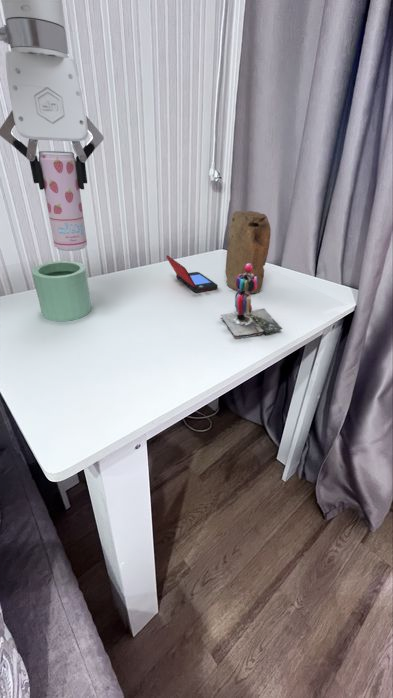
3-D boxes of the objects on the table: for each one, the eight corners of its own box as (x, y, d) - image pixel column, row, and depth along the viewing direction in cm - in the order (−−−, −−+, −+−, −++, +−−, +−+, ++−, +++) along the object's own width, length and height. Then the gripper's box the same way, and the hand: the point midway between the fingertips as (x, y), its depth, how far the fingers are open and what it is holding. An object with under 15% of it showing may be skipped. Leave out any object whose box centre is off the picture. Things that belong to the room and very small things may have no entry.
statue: (235, 343, 70) (234, 277, 61) (220, 322, 77) (218, 260, 69) (282, 333, 72) (288, 267, 63) (263, 313, 79) (267, 252, 71)
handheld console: (219, 289, 91) (221, 263, 87) (183, 295, 87) (184, 268, 83) (198, 274, 101) (199, 250, 97) (165, 279, 96) (165, 254, 92)
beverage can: (61, 253, 57) (43, 152, 49) (50, 245, 61) (32, 150, 53) (92, 248, 60) (80, 153, 52) (80, 241, 64) (67, 151, 56)
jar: (43, 324, 71) (32, 280, 66) (41, 304, 79) (31, 263, 74) (94, 317, 75) (88, 274, 70) (87, 298, 83) (81, 259, 78)
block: (221, 283, 95) (228, 209, 85) (242, 279, 99) (251, 208, 88) (244, 297, 88) (254, 218, 77) (266, 292, 91) (278, 216, 80)
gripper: (-38, 28, 40) (3, 192, 50) (106, 48, 46) (117, 191, 56) (-29, 41, 46) (6, 185, 56) (98, 57, 52) (109, 185, 61)
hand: (61, 187), depth 56 cm, fingers closed on beverage can, 5 cm apart
